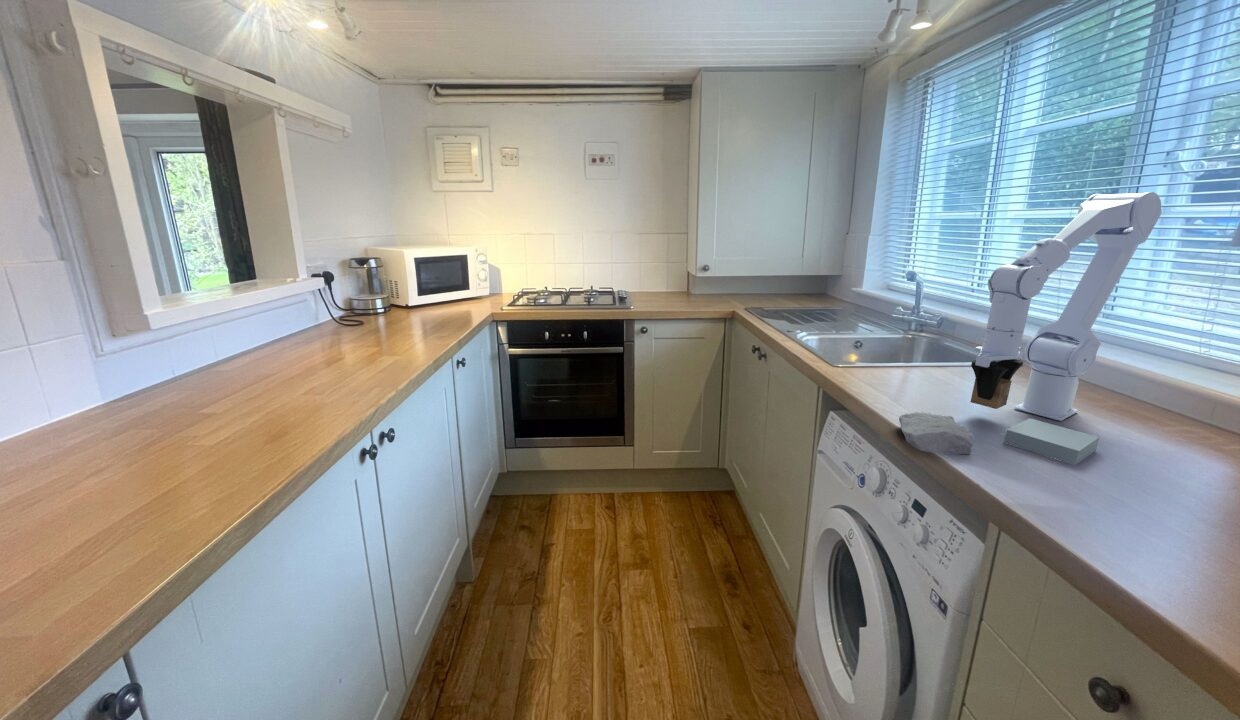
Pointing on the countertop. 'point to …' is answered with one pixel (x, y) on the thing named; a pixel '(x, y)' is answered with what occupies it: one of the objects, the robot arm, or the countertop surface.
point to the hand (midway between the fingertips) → (990, 395)
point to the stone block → (936, 433)
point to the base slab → (1052, 440)
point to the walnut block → (998, 397)
